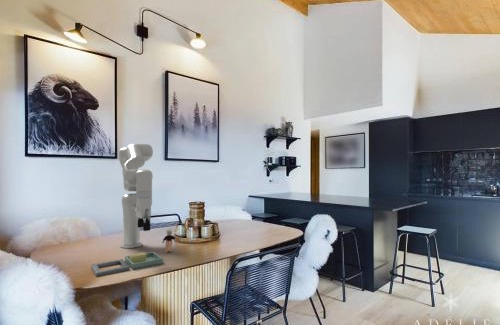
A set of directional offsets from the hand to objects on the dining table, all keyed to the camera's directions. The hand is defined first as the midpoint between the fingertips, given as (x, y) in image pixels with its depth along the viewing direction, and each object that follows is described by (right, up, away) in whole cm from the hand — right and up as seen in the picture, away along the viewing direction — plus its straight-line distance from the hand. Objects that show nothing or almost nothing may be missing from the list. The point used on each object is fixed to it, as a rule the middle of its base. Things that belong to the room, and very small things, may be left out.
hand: (143, 228), depth 150 cm
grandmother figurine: (+8, -17, +19) cm, 27 cm away
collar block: (-12, -17, -10) cm, 23 cm away
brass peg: (+1, -14, 0) cm, 14 cm away
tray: (0, -17, 0) cm, 17 cm away
